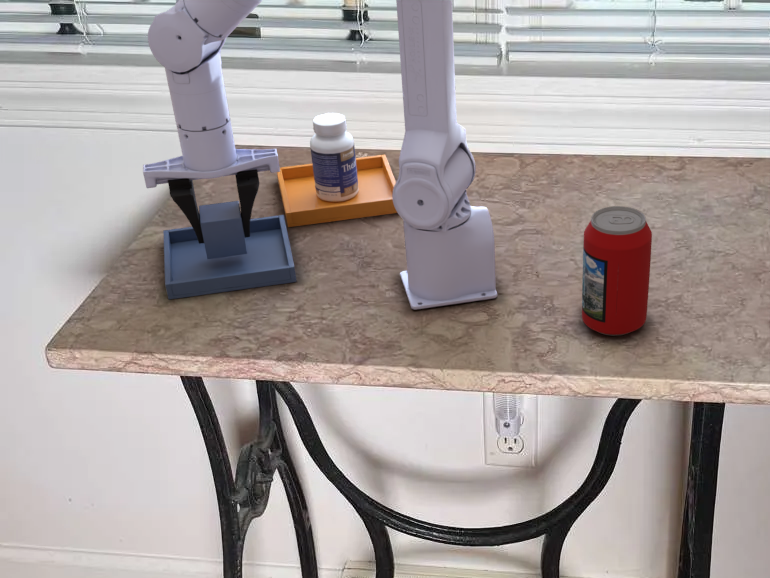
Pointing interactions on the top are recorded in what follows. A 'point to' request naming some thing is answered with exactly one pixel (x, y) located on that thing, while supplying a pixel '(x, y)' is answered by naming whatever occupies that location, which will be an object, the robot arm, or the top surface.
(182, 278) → the blue tray
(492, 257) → the robot arm
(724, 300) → the top surface
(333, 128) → the pill bottle
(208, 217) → the blue block
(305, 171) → the amber tray
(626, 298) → the beverage can
